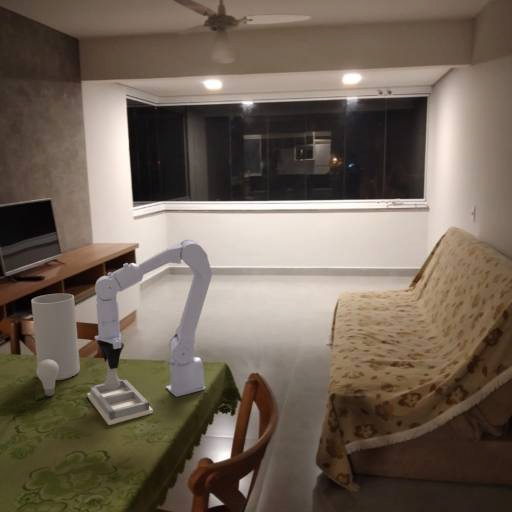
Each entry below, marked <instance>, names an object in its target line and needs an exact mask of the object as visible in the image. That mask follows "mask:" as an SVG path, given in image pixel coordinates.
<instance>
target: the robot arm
mask: <svg viewBox="0 0 512 512" xmlns="http://www.w3.org/2000/svg"><path fill="white" fill-rule="evenodd" d="M208 257H209V256H208V254H207V252H206V251H205V249H203V247H202V246H201V245H199V244H198V242H196V241H194V240H193V239H184V240H182V241H181V242H178V243H175V244H173V245H171V246H169V247H167V248H165V249H163V250H162V251H160V252H159V253H155V254H154V255H153V256H151V257H149V258H147V259H146V260H144V261H142V262H141V263H134V262H131V263H128V262H126V263H123V265H122V266H123V267H120V268H119V269H117V270H115V271H113V272H112V271H110V272H108V273H107V275H103V276H100V277H99V278H98V279H97V280H96V282H95V286H94V292H95V294H96V315H97V316H96V317H97V329H98V335H95V336H94V340H95V341H96V343H97V345H98V346H99V348H100V351H101V353H102V356H103V359H104V363H105V362H106V359H107V360H108V364H109V367H110V369H114V368H116V369H118V367H119V363H120V357H121V354H122V352H123V349H124V347H125V344H124V343H123V342H122V340H121V338H122V334H121V329H120V315H119V303H118V302H119V301H117V294H118V292H123V291H126V290H127V289H128V288H130V287H133V286H134V285H136V284H138V283H140V282H142V281H143V277H144V275H147V274H149V273H150V272H152V271H155V270H156V269H159V268H161V267H164V266H165V265H167V264H169V263H170V264H171V263H172V264H180V265H181V264H182V261H183V263H184V264H186V265H187V267H189V269H190V270H191V272H192V274H193V278H192V281H191V285H190V287H189V290H188V294H187V298H186V302H185V305H184V308H183V312H182V314H181V318H180V321H179V325H178V326H177V328H176V330H175V333H174V334H173V336H172V337H171V338H170V340H169V342H168V348H169V350H170V353H171V357H170V358H169V359H168V360H169V377H170V384H169V385H166V386H165V388H166V389H167V390H168V391H169V392H170V393H171V394H172V395H173V396H174V397H180V396H181V397H182V396H185V395H188V394H192V393H196V392H200V391H204V390H206V386H205V373H204V372H205V371H204V364H203V361H202V359H201V358H200V357H199V356H195V348H194V346H195V343H196V342H195V341H196V331H197V327H198V323H199V320H200V316H201V314H202V310H203V307H204V304H205V301H206V297H207V294H208V290H209V287H210V283H211V280H212V277H213V272H212V268H211V264H210V262H209V258H208Z"/></svg>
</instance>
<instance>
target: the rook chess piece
mask: <svg viewBox="0 0 512 512" xmlns="http://www.w3.org/2000/svg"><path fill="white" fill-rule="evenodd" d="M104 364H105V366H106V377H105V380H104V382H103V384H104V383H105V385H104V386H105V388H107V389H115V388H118V387H119V386H120V383H119V382H120V380H121V379H120V378H119V377H118V374H117V368H114V369H110V367H109V364H108V360H107V359H106V362H105V361H104Z"/></svg>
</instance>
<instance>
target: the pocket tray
mask: <svg viewBox="0 0 512 512" xmlns="http://www.w3.org/2000/svg"><path fill="white" fill-rule="evenodd" d="M119 380H120V382H119V383H120V386H119V387H118V388H115V389H107V388H105V386H104V385H105V383H104V382H103V383H99V384H95V385H91V386H89V389H90V390H89V391H90V392H87V399H88V400H89V401H90V402H91V404H92V405H93V406H94V407H95V409H96V410H97V411H98V413H99V414H100V415H101V417H102V418H103V420H104V421H105V422H106V424H107V425H108V426H112V425H115V424H118V423H122V422H125V421H128V420H133V419H136V418H139V417H143V416H148V415H150V414H153V413H154V409H153V408H152V407H151V406H150V402H149V401H148V400H147V399H146V398H145V397H144V396H143V395H142V393H140V392H139V391H138V390H137V389H136V388H135V387H134V386H133V384H131V383H130V381H128V380H127V379H126V378H121V379H119Z"/></svg>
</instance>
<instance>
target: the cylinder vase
mask: <svg viewBox="0 0 512 512" xmlns="http://www.w3.org/2000/svg"><path fill="white" fill-rule="evenodd" d="M31 312H32V321H33V331H34V341H35V342H34V343H35V353H36V361H37V365H38V364H39V363H40V362H42V361H43V360H47V359H50V360H53V361H55V362H56V363H57V364H58V366H59V373H58V375H57V377H56V380H57V381H63V380H66V379H70V378H73V377H74V376H76V375H77V374H78V373H79V372H80V369H81V368H80V367H81V366H80V353H79V343H78V342H79V341H78V328H77V319H76V316H77V315H76V305H75V296H74V295H73V294H70V293H51V294H44V295H39V296H36V297H33V298H32V299H31ZM72 376H73V377H72ZM56 380H55V382H56Z"/></svg>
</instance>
